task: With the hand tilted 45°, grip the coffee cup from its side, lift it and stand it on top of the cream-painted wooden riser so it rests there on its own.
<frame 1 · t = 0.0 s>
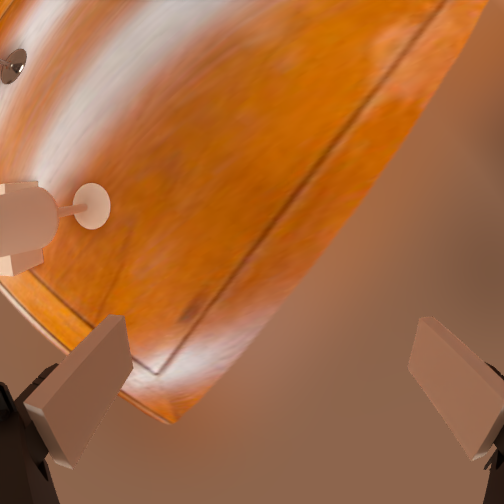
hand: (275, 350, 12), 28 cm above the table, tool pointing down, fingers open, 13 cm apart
champagne flute: (91, 206, 39), on the table
wine glass: (13, 66, 34), on the table
riser: (14, 223, 40), on the table
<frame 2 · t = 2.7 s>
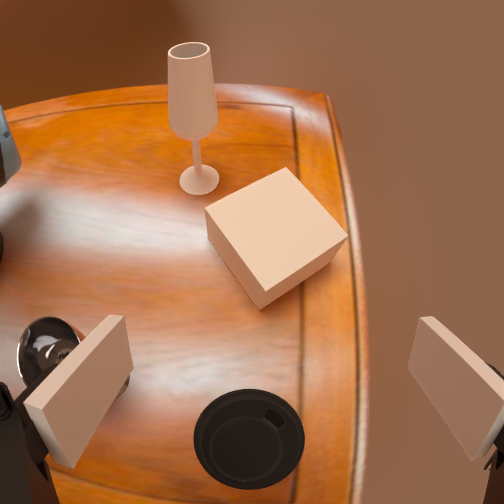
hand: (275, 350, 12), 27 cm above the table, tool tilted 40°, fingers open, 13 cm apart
champagne flute: (199, 180, 50), on the table
wine glass: (106, 373, 36), on the table
coffee cup: (243, 425, 34), on the table
riser: (269, 250, 45), on the table
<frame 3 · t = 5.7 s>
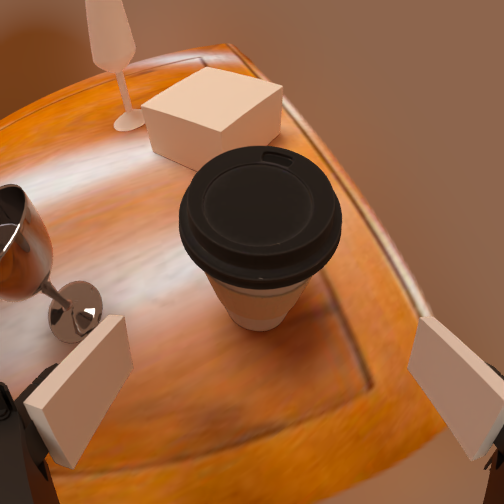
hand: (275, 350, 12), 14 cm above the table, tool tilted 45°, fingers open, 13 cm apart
champagne flute: (132, 120, 46), on the table
wine glass: (74, 311, 28), on the table
coffee cup: (257, 303, 29), on the table
riser: (216, 140, 42), on the table
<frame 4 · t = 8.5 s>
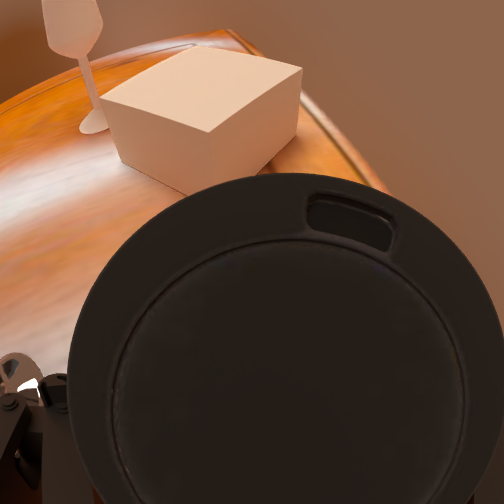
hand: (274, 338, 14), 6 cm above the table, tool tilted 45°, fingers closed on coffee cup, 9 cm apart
champagne flute: (102, 119, 34), on the table
wine glass: (16, 395, 16), on the table
coffee cup: (267, 412, 17), on the table, touching gripper
riser: (208, 145, 30), on the table
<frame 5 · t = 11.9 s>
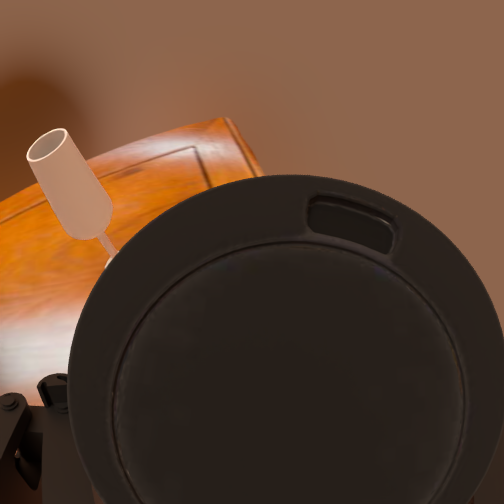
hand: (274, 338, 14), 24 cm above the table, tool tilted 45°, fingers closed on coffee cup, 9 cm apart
champagne flute: (124, 268, 43), on the table
coffee cup: (267, 413, 17), point 18 cm above the table, touching gripper
when the fingers open (15 cm above the table, at t = 15.7 s): coffee cup drops 1 cm, resting on riser.
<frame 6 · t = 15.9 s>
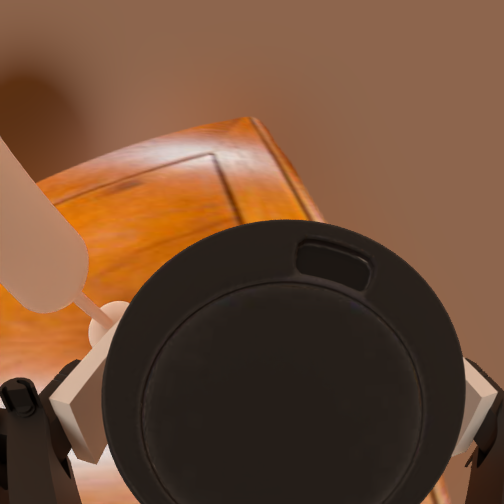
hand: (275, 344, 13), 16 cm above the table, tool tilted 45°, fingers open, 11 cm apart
champagne flute: (116, 330, 29), on the table
coffee cup: (267, 414, 18), point 8 cm above the table, touching riser
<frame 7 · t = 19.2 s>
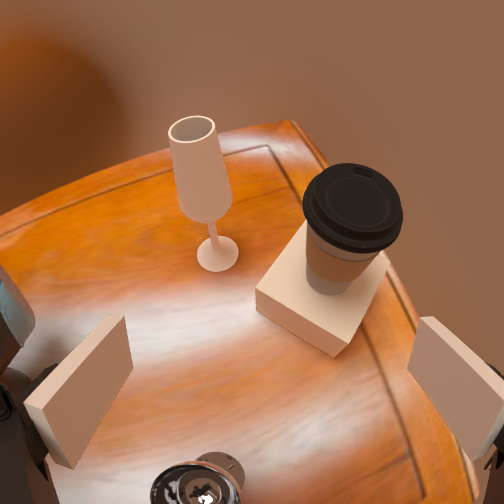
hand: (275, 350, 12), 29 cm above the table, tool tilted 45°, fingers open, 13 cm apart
champagne flute: (217, 253, 49), on the table
wine glass: (217, 475, 32), on the table
coffee cup: (327, 275, 38), point 8 cm above the table, touching riser
riser: (317, 299, 45), on the table
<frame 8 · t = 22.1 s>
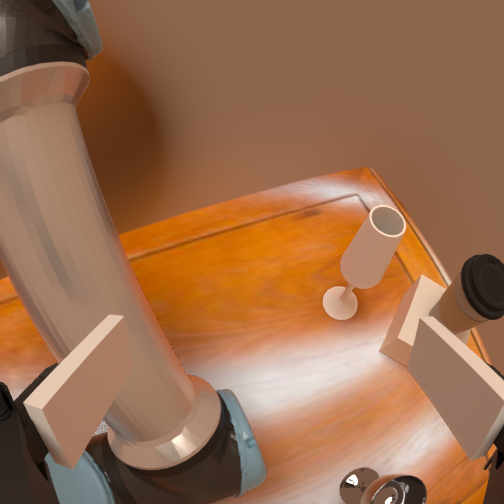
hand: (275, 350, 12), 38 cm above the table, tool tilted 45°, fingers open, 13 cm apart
champagne flute: (340, 303, 54), on the table
wine glass: (360, 486, 36), on the table
coffee cup: (440, 322, 43), point 8 cm above the table, touching riser
riser: (419, 337, 49), on the table
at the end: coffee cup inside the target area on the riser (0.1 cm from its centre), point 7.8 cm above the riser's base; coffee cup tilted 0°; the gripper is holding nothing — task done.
